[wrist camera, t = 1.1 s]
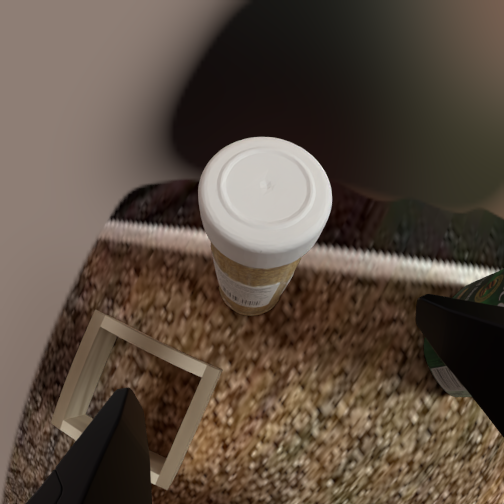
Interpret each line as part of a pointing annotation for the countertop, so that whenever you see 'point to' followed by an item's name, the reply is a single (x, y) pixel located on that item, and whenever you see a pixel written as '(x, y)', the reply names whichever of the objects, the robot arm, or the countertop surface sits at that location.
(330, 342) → the countertop surface
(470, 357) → the robot arm
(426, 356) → the coffee jar
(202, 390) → the guard collar
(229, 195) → the sprinkles bottle
